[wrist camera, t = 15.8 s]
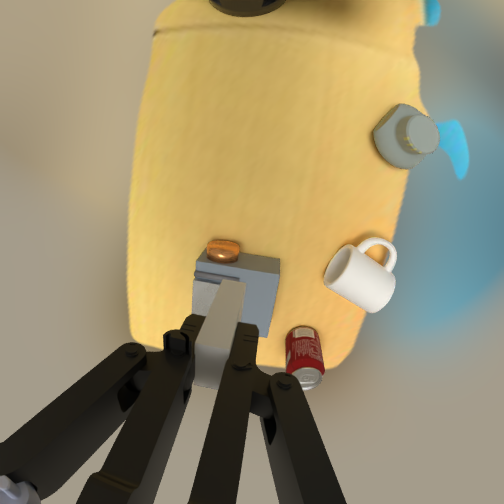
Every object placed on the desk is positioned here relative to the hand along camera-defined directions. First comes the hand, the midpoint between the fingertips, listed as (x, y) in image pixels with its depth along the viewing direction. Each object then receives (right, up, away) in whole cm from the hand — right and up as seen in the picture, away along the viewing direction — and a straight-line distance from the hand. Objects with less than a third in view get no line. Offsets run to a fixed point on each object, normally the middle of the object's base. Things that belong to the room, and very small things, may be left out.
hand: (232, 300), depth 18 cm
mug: (+21, +1, +30) cm, 37 cm away
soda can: (+11, -14, +36) cm, 41 cm away
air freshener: (+26, +23, +22) cm, 41 cm away
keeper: (-5, -6, +27) cm, 28 cm away
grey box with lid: (-1, -3, +33) cm, 34 cm away
